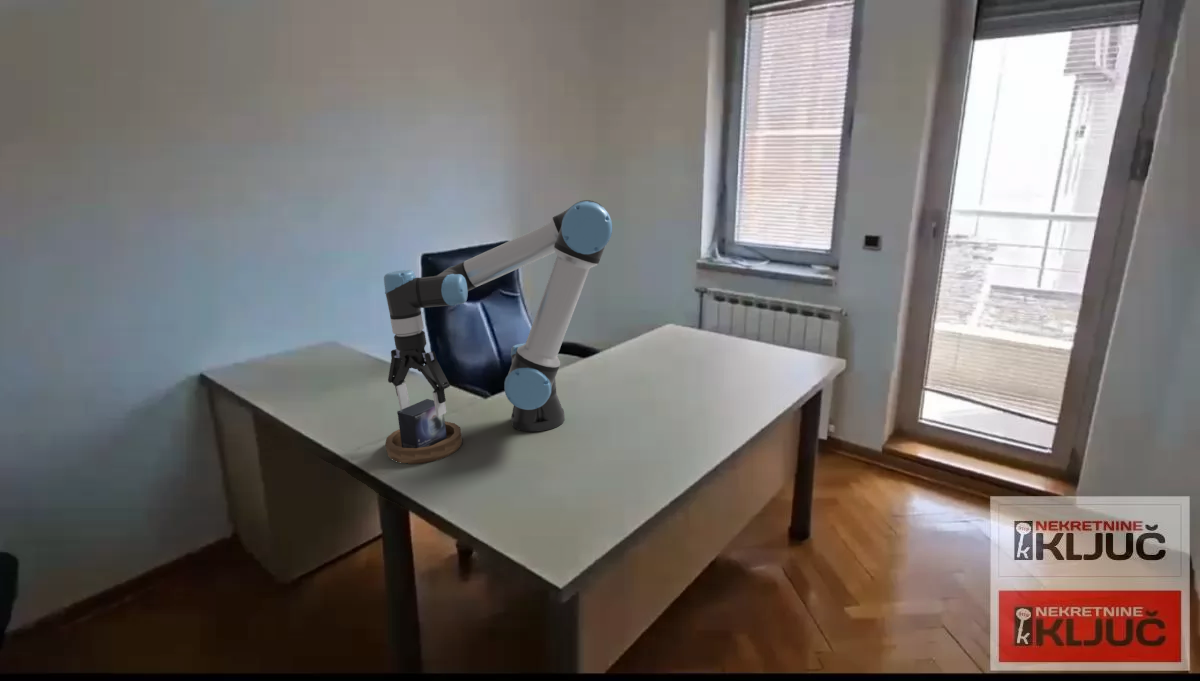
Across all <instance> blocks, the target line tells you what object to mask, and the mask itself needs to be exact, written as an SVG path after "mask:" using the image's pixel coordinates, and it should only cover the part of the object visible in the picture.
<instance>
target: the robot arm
mask: <svg viewBox="0 0 1200 681" xmlns="http://www.w3.org/2000/svg"><path fill="white" fill-rule="evenodd" d="M612 234H613V222H612V219H611V215H610V214H609V212H608V211H607V210H606V208H605V207H604V206H603V205H602V204H600V203H598V202H597V201H594V200H589V199H586V200H580V201H577V202H576V203H574V204H573V205H571V206H570V207H568V208H567V209H566V210H564V211H563V212H561V213H559V214H557V215H555V216H551V218H550V221H549V222H548V223H546V224H544V225H542V226H540V227H538V228H535V229H533V230H531V231H529V232H526V233H524V234H522V235H520V236H517V237H516V238H513V239H511V240H509V241H506V242H504V243H502V244H500V245H498V246H496V247H493V248H490V249H488V250H486V251H484V252H482V253H480V254H478V255H475V256H474V257H470V258H468V259H467V260H464V261H463V262H460V263H458V264H456V265H451V266H449V267H447V268H445V269H444V270H443V271H442V272H440V273H439V274H437V275H434V276H425V277H416V275H415V272H414V271H413V270H412V269H407V270H405V269H403V270H395V271H390V272H388V273H386V274H384V276H383V286H384V294H385V298H386V303H387V306H388V312H389V316H390V318H389V319H390V324H391V330H392V334H393V335H394V336H393V340H394V346H395V349H392V350H391V351H390V356H391V359H390V365H389V371H388V376H387V378H388V379H387V380H388V383H389V384H391V383H392V384H393V386H395V388H394V389H395V392H396V397H397V399H398V404H399V411H400V410H402V409H404V408H407V407H409V406H411V402H410V396H409V393H408V388H407V383H405V382H406V381H405V379H406V377H407V375H408V373H409V371H410V369H414V370H417V371H418V372H420V373H421V374H422V376H423V377H424V379H426V380H427V382H428V383H429V384H430V387H431V388H432V389H433V391H432V396H433V397H432V398H433V400H434V403H435V409H436V415H437V416H441V415H443V414H444V415H446V413H447V408H446V394H445V390H446V389H448V388H450V387H451V386H450V382H449V381H448V378H447V377H446V375H445V373H444V371H443V369H442V367H441V364H440V363H439V361H438V359H437V356H436V352H435V351H434V350H432V351H429V352H426V349H425V347H426V345H427V339H426V337H427V336H426V333H425V331H424V330H423V329H424V328H425V327H424V323H423V321H424V320H423V316H422V310H421V309H422V308H423V309H424V308H425V309H426V308H435V307H437V308H438V307H445V306H446V307H447V306H452V307H453V306H455V305H456V306H457V305H462V304H465V303H466V302H467V300H468V295H469V294H468V293H469V291H471V290H474V289H475V288H477V287H480V286H481V285H485V284H487V283H489V282H491V281H494V280H496V279H498V278H501V277H502V276H505V275H507V274H509V273H511V272H513V271H516V270H518V269H521V268H523V267H525V266H527V265H530V264H533V263H534V262H536V261H539V260H542V259H543V258H545V257H548V256H550V255H552V254H556V259H555V261H554V265H553V267H552V270H551V273H550V275H549V277H548V281H547V283H546V285H545V289H544V292H543V295H542V297H541V299H540V303H539V306H538V308H537V310H536V314H535V316H534V320H533V321H532V325H531V327H530V330H529V333H528V336H527V339H526V342H524V343H517V344H514V345H513V346H512V347H511V348H510V357H511V365H510V368H509V371H508V374H507V375H506V377H505V379H504V382H503V383H504V386H503V387H504V393H505V397H506V398H507V401H509V402H510V404H512V405H513V408H512V412H511V418H510V420H511V426H512V427H513V428H514V429H515V430H518V431H523V432H530V433H531V432H543V431H548V430H552V429H554V428H557V427H559V426H561V425H562V424H564V422H565V420H566V419H565V410H564V408H563V406H562V404H561V401H560V399H559V397H558V393H557V385H556V384H557V383H556V376H557V374H558V371H559V369H560V366H561V361H560V359H559V357H558V355H559V352H560V350H561V346H562V344H563V342H564V338H565V337H566V336H565V335H566V333H567V330H568V328H569V325H570V322H571V320H572V317H573V315H574V311H575V310H576V308H577V307H576V306H577V305H578V304H577V303H578V301H579V298H580V297H581V294H582V292H583V291H582V290H583V288H584V286H585V283H586V280H587V277H588V275H589V272H590V269H592V268H594V267H597V266H598V265H599V263H600V260H601V258H602V255H603V253H604V250H605V247H606V246H607V244H608V243H609V242H610V239H611V237H612Z"/></svg>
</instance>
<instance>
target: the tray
mask: <svg viewBox="0 0 1200 681" xmlns="http://www.w3.org/2000/svg"><path fill="white" fill-rule="evenodd" d="M445 427H446V435H447V438H446V439H444V440H442V441H440V442H438V443H436V444H434V445H432V446H428V447H421V448H402V443H401V436H400V428H399V429H396V430H395V431H393V432H392V433H390V435H388V436H387V437H386V439H385V442H384V444H385V449H386V453H387V457H388V456H389V457H390V458H391V459H393V460H395V461H397V462H401V463H400V464H402V463H408V464H407V465H418V464H419V465H420V464H427V463H431V462H436V461H438V460H439V461H440V460H441V459H445V458H447V457H450V456H451V455H453V454H455V453H456V452H457V451H459V449H460V448H461V447H462V444H463V440H462V430H461V426H459V425H458V424H456V423H455V422H450V421H446V420H445ZM389 457H388V458H389ZM390 458H389V459H390ZM391 459H390V460H391ZM397 462H396V463H397Z"/></svg>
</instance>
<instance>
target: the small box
mask: <svg viewBox="0 0 1200 681" xmlns="http://www.w3.org/2000/svg"><path fill="white" fill-rule="evenodd" d="M396 413H397V417H398V418H397V419H398V426H399V427H398V428H399V429H400V436H401V443H402V448H421V447H428V446H432V445H434V444H436V443H438V442H440V441H442V440H444V439H446V438H447V435H446V427H445V421H446V420H445V414H443V415H441V416H437V415H436V409H435V403H434V399H429V398H426V399H423V400H421V401H418V402H416V403H414V404H412V405H411V404H410V406H409V407H407V408H404V409H402V410H400V409H399V410H397V412H396Z"/></svg>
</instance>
